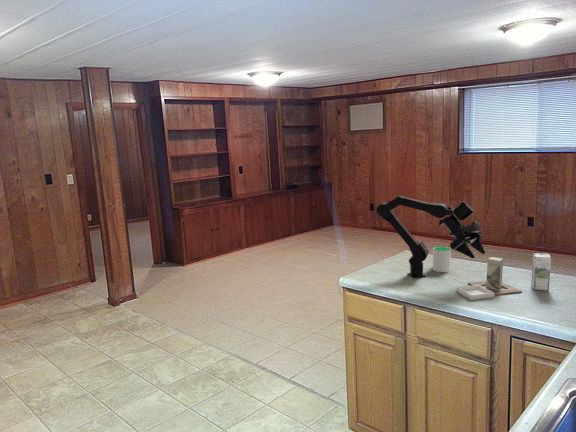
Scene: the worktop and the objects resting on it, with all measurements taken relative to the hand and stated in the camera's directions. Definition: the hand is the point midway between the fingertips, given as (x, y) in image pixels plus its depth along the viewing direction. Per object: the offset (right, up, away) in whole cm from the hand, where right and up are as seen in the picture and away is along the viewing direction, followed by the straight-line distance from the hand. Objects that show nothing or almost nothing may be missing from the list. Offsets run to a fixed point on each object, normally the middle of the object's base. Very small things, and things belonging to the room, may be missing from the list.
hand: (479, 255), depth 197 cm
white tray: (-6, -15, -10) cm, 19 cm away
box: (+5, -14, -3) cm, 15 cm away
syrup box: (+23, -13, -6) cm, 27 cm away
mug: (-7, -9, +28) cm, 30 cm away
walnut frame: (+5, -13, -3) cm, 15 cm away
